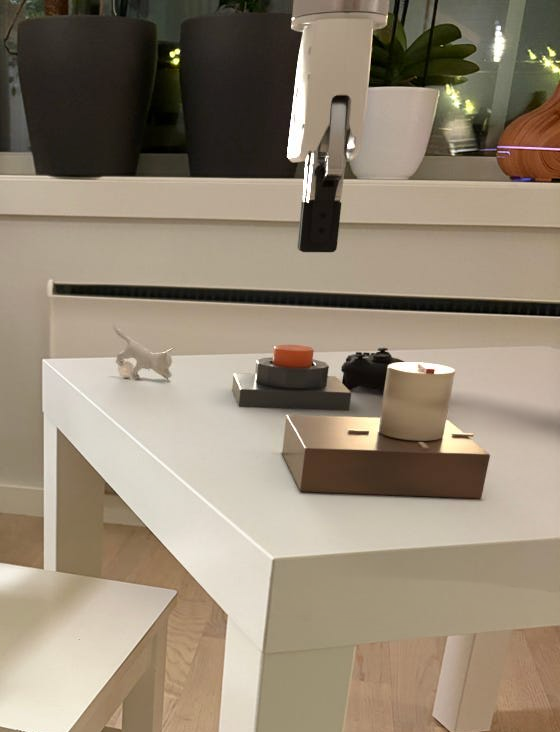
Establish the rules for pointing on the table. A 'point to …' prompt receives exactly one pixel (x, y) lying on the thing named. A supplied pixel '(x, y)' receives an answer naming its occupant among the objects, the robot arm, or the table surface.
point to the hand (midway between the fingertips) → (316, 251)
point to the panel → (380, 459)
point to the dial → (416, 401)
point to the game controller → (367, 369)
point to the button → (293, 355)
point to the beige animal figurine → (141, 359)
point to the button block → (290, 387)
